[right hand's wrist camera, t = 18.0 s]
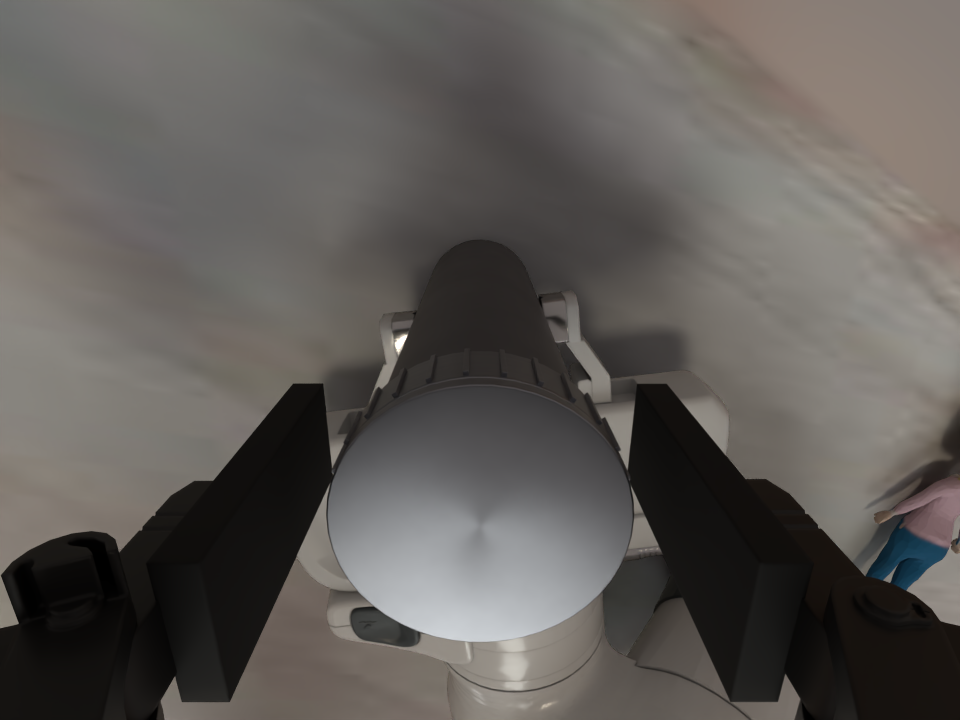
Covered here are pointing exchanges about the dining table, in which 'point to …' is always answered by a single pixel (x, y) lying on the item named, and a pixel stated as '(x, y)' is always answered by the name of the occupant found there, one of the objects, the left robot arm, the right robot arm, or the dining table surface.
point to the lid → (480, 498)
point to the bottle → (479, 310)
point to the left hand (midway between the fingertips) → (476, 305)
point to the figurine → (919, 533)
